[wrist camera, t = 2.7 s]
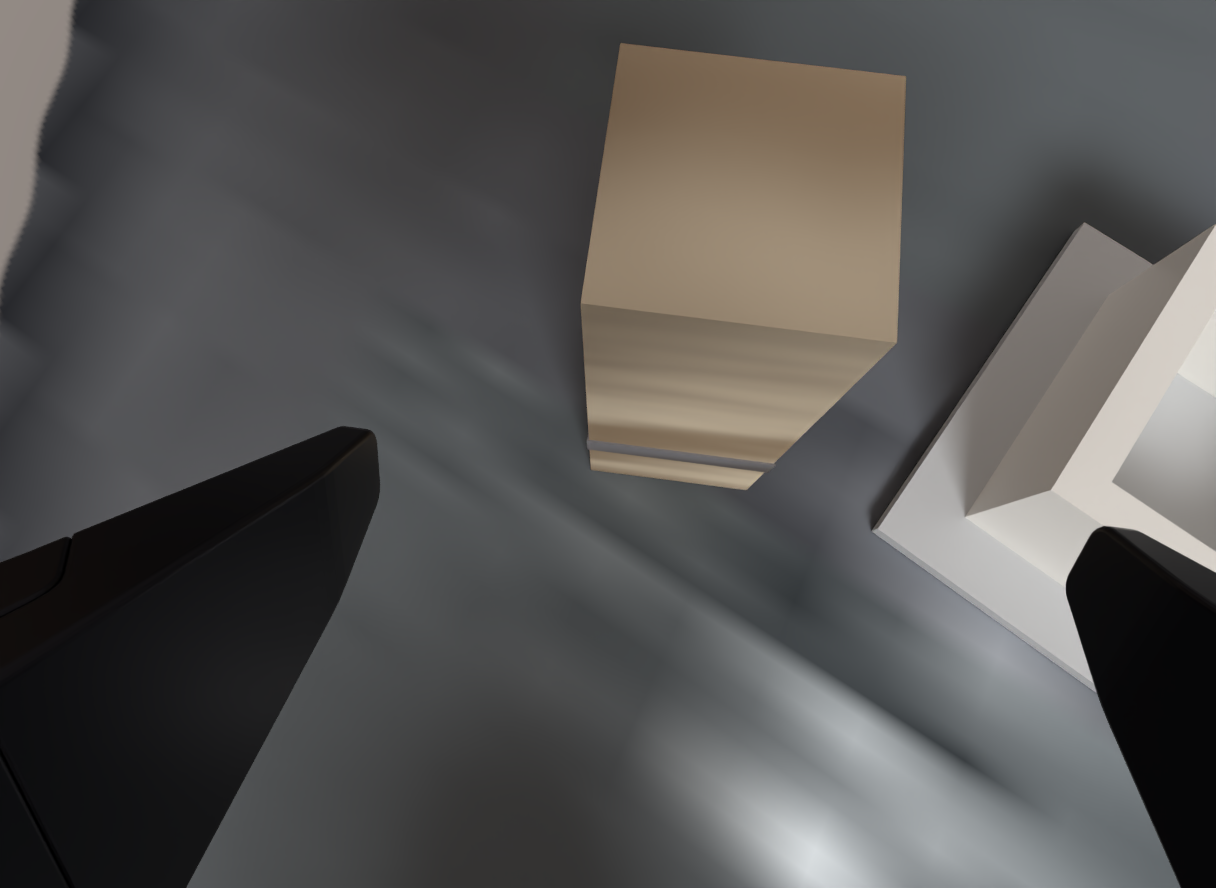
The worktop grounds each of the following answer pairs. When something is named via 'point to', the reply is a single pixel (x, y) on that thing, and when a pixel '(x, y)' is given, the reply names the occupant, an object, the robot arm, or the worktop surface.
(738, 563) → the worktop surface
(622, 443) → the wooden post
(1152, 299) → the well
